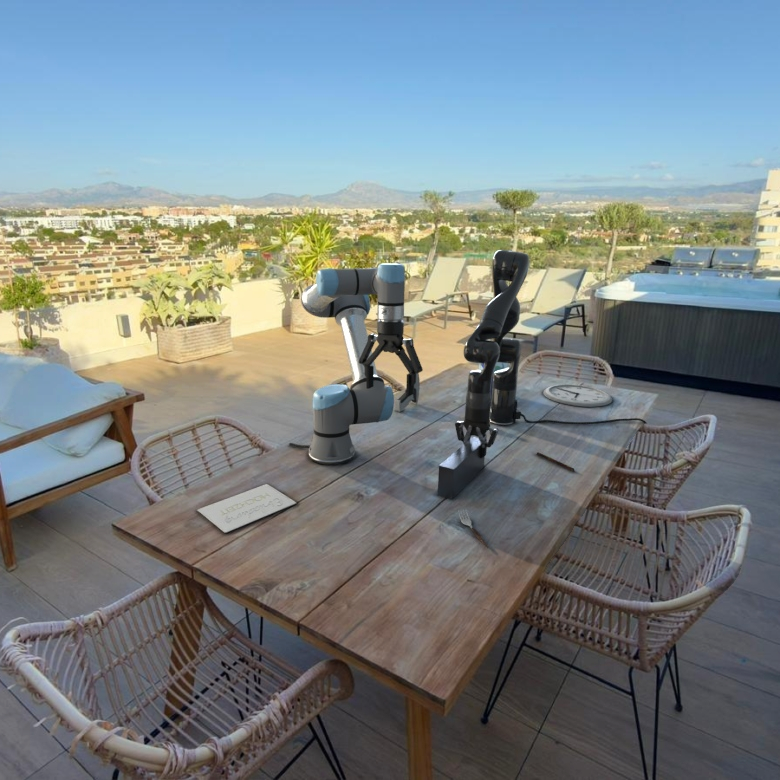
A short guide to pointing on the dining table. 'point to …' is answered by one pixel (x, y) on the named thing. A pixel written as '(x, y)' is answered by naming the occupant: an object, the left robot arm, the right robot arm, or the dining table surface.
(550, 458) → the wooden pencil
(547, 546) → the dining table surface
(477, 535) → the fork
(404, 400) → the toy gun
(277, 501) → the invitation card
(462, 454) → the bar
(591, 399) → the wall clock
